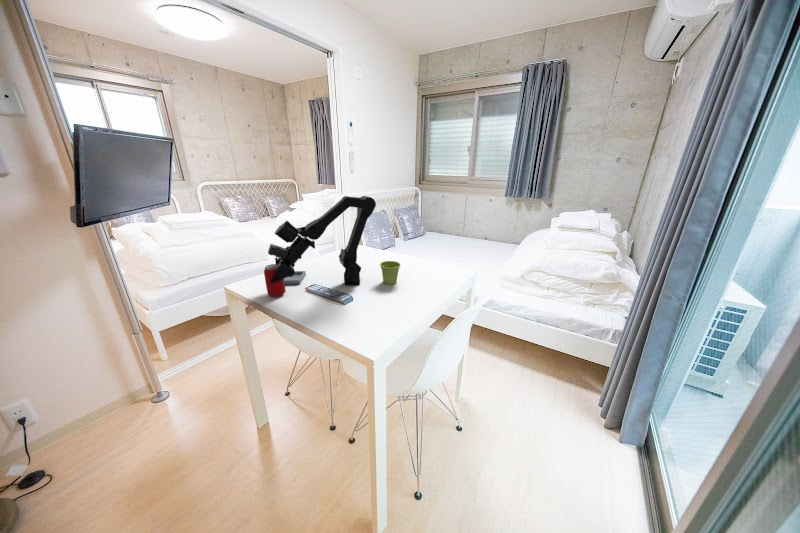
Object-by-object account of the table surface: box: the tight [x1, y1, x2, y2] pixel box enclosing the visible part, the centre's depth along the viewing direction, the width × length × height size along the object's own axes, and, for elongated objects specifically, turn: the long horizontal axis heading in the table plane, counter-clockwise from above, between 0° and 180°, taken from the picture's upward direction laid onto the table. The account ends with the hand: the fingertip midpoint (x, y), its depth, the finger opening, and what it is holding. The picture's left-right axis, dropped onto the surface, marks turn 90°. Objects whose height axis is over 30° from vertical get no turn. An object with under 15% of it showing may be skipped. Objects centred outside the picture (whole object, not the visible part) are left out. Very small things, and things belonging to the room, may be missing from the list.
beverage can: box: [263, 263, 287, 298], centre depth 109 cm, size 7×7×12 cm
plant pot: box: [379, 260, 402, 285], centre depth 124 cm, size 9×9×9 cm
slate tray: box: [284, 270, 307, 286], centre depth 125 cm, size 12×12×2 cm
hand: (270, 279), depth 108 cm, fingers closed on beverage can, 7 cm apart
